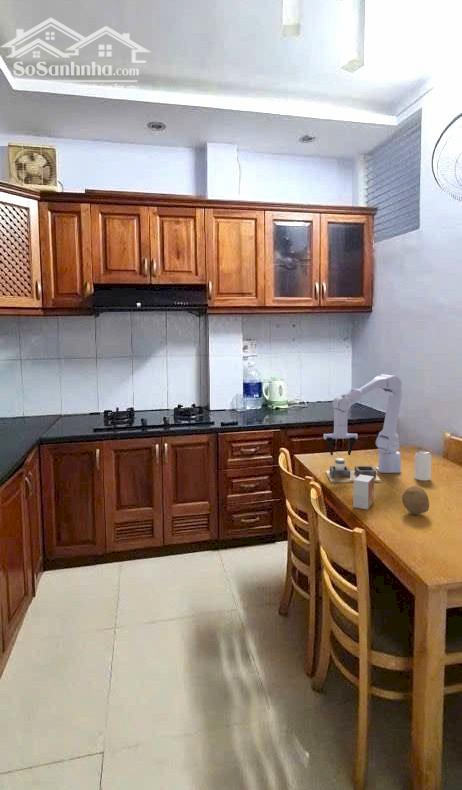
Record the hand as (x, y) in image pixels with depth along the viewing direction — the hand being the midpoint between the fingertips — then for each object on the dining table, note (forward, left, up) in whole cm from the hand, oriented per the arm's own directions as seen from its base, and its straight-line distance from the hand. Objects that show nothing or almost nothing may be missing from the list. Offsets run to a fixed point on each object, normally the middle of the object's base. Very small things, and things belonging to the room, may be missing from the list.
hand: (340, 454), depth 207 cm
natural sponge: (-19, +42, -10) cm, 47 cm away
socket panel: (-5, +1, -10) cm, 11 cm away
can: (-35, +3, -10) cm, 36 cm away
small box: (-3, +34, -10) cm, 36 cm away
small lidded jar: (0, +2, -9) cm, 9 cm away
